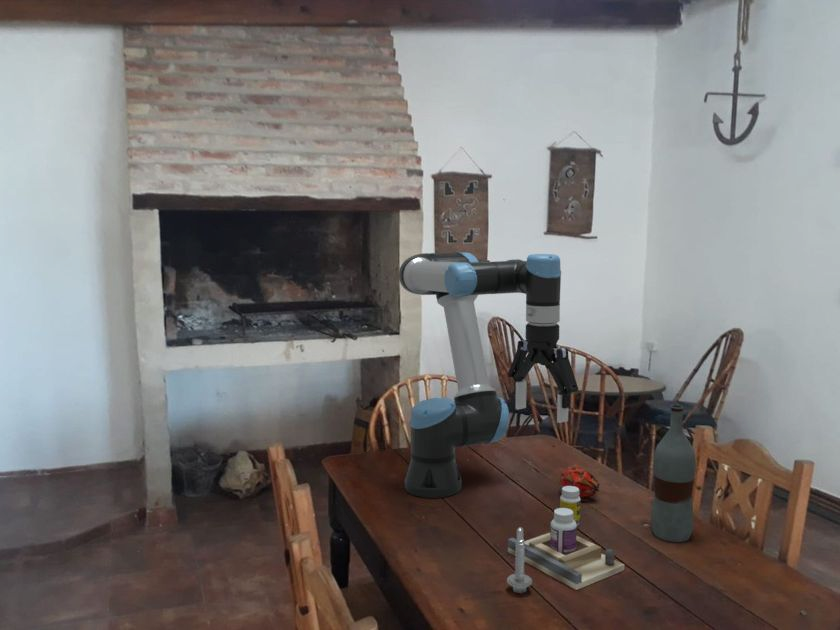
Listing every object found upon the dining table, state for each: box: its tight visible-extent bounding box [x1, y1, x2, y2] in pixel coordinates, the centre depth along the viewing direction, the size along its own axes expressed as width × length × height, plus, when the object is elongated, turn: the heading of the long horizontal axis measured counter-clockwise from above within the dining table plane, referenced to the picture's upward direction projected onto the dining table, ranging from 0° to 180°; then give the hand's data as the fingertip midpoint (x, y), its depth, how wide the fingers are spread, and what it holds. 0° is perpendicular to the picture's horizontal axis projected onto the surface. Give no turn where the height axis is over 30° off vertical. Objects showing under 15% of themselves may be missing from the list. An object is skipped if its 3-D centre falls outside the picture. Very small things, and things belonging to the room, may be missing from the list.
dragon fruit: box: [557, 464, 600, 502], centre depth 194 cm, size 8×8×12 cm
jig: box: [507, 522, 625, 591], centre depth 159 cm, size 20×14×4 cm
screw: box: [506, 526, 533, 594], centre depth 147 cm, size 13×5×5 cm
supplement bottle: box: [559, 486, 582, 526], centre depth 178 cm, size 5×5×8 cm
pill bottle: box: [550, 507, 578, 555], centre depth 159 cm, size 5×5×10 cm
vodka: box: [650, 404, 697, 543], centre depth 170 cm, size 9×9×30 cm
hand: (541, 415), depth 173 cm, fingers open, 13 cm apart
